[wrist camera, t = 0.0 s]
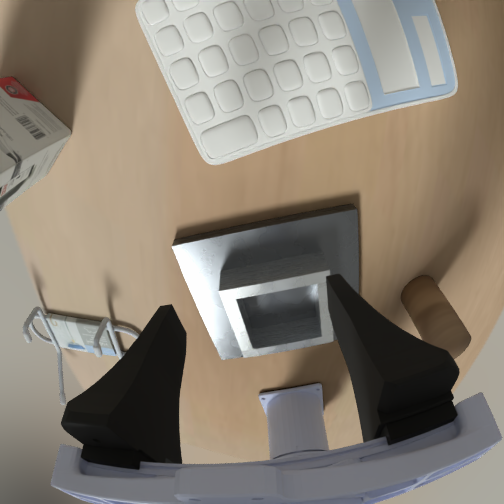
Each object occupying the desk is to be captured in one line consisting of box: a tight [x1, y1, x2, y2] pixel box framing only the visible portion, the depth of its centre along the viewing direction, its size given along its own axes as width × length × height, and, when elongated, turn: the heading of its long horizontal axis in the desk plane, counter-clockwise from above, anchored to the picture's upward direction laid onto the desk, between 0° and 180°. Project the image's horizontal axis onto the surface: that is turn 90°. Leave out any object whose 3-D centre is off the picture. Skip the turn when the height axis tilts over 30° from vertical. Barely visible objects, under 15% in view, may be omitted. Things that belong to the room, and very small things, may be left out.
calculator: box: [135, 0, 458, 165], centre depth 15 cm, size 13×20×2 cm, turn 111°
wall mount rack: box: [23, 307, 139, 405], centre depth 28 cm, size 16×14×6 cm
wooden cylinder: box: [401, 276, 471, 359], centre depth 24 cm, size 4×4×8 cm
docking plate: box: [172, 204, 359, 360], centre depth 25 cm, size 14×14×4 cm
